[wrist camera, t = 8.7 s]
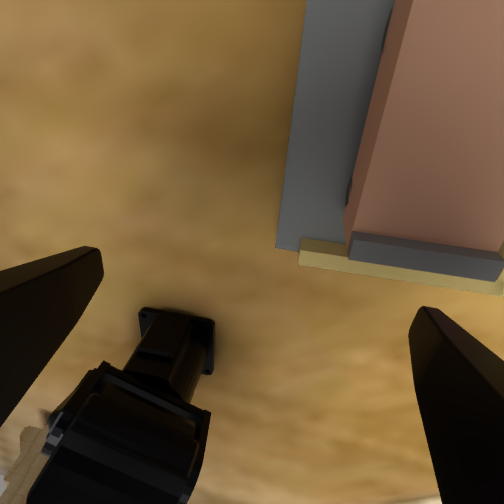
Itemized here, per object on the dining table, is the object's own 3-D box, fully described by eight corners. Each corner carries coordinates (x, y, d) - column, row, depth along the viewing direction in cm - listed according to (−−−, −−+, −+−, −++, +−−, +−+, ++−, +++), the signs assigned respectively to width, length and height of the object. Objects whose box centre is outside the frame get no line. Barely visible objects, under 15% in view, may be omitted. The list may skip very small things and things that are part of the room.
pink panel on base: (452, 226, 18) (494, 282, 14) (341, 211, 19) (348, 259, 15) (553, -2, 13) (672, -28, 9) (394, -13, 14) (430, -42, 9)
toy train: (41, 406, 40) (-34, 501, 32) (176, 448, 40) (137, 556, 31) (46, 430, 43) (-21, 523, 35) (172, 470, 43) (135, 573, 34)
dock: (482, 263, 21) (508, 297, 18) (278, 233, 23) (272, 260, 20) (663, -85, 13) (768, -127, 10) (321, -99, 14) (322, -138, 11)
